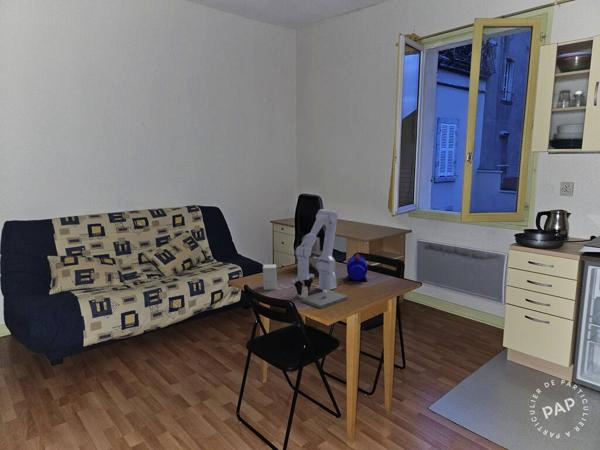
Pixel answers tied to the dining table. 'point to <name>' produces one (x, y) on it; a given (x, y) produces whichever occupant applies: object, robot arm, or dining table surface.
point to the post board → (324, 298)
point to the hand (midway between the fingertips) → (303, 293)
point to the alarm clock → (356, 268)
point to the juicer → (313, 257)
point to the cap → (304, 292)
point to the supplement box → (269, 277)
